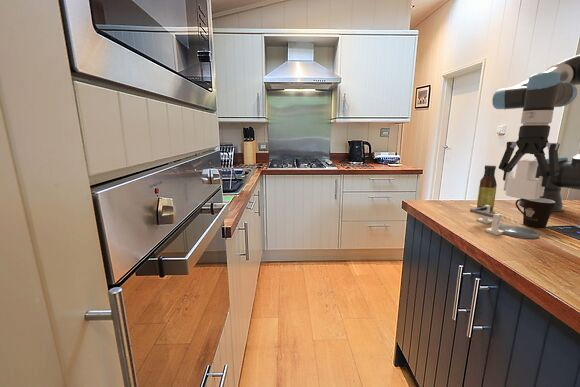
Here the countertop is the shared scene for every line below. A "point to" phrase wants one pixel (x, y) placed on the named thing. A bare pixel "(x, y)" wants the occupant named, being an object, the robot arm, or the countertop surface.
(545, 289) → the countertop surface
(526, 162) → the base with upright slab
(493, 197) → the sauce bottle
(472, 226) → the countertop surface
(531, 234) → the coaster
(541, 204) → the coffee mug
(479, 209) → the bent wire
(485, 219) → the wire posts
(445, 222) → the countertop surface
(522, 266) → the countertop surface
